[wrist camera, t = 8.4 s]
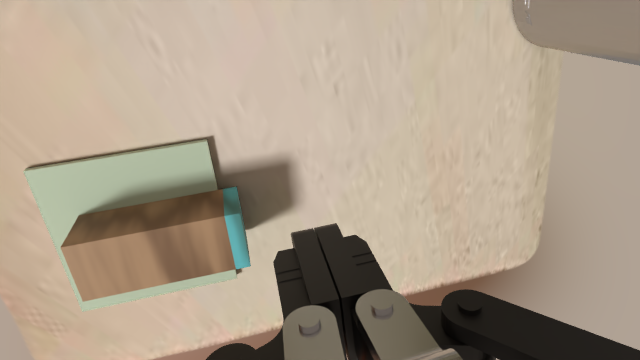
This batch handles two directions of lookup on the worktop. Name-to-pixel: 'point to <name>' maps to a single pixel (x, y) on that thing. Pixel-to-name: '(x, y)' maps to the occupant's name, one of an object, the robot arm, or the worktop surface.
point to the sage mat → (122, 197)
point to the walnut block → (156, 243)
